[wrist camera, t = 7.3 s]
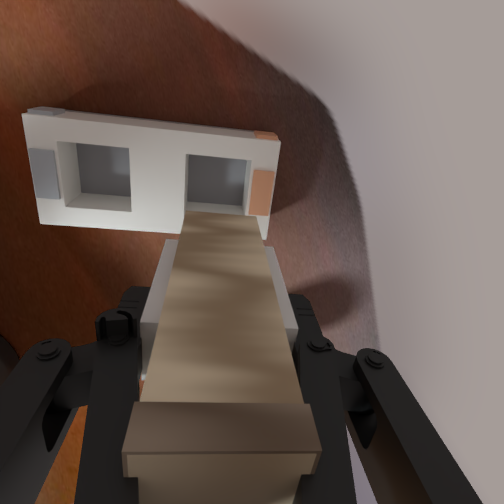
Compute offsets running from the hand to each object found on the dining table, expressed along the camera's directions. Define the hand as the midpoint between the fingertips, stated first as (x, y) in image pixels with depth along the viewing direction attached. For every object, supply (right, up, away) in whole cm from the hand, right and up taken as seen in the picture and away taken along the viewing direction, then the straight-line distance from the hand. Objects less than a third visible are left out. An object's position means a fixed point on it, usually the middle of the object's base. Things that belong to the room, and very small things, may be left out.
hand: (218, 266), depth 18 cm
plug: (0, +1, +2) cm, 3 cm away
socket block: (-7, +9, +16) cm, 19 cm away
